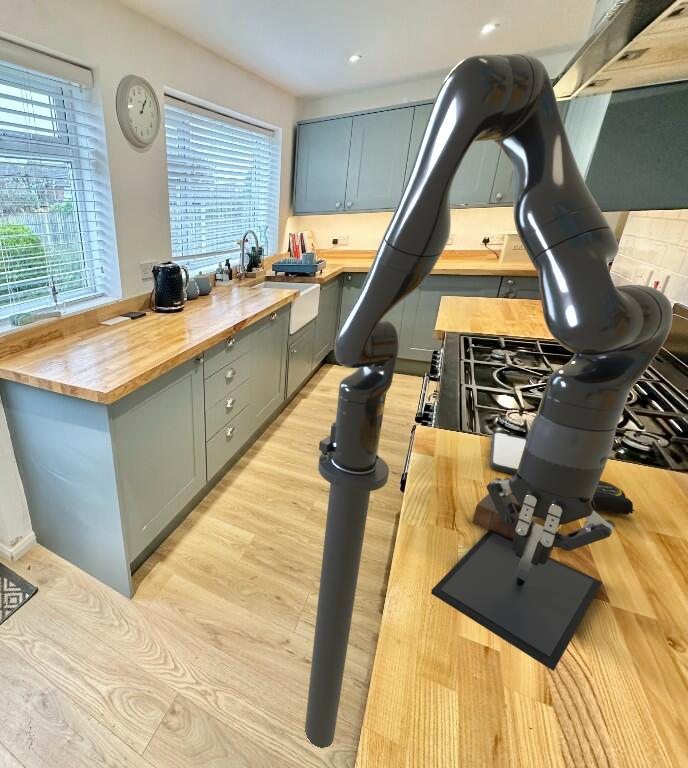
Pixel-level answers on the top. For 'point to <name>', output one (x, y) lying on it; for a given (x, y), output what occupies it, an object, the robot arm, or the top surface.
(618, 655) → the top surface
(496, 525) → the pen stand
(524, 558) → the grey square rod
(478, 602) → the tablet
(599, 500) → the tape measure
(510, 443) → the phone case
